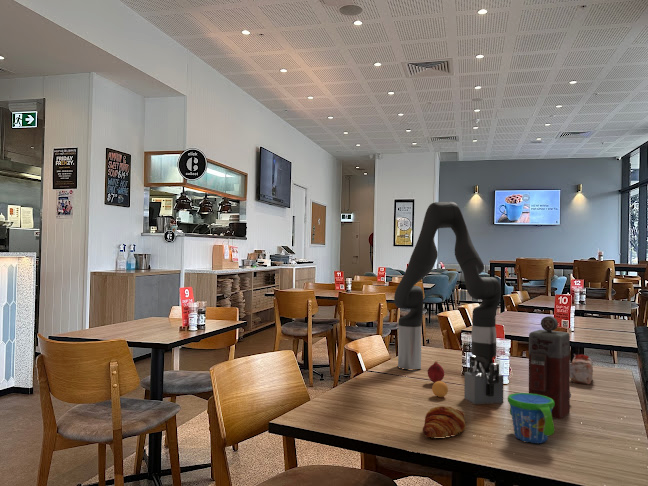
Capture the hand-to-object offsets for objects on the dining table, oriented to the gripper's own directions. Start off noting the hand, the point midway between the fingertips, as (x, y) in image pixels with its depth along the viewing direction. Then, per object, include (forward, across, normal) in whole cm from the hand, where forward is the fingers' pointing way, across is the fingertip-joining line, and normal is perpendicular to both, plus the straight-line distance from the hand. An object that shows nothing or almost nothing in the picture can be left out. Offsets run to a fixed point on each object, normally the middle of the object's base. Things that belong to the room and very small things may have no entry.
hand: (483, 392), depth 158 cm
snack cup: (+3, +33, -6) cm, 34 cm away
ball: (0, -6, -12) cm, 13 cm away
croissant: (+3, +24, -24) cm, 34 cm away
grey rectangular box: (+2, 0, 0) cm, 2 cm away
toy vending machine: (+3, +15, +12) cm, 19 cm away
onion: (+3, -22, -6) cm, 23 cm away
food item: (+3, -18, +50) cm, 53 cm away
